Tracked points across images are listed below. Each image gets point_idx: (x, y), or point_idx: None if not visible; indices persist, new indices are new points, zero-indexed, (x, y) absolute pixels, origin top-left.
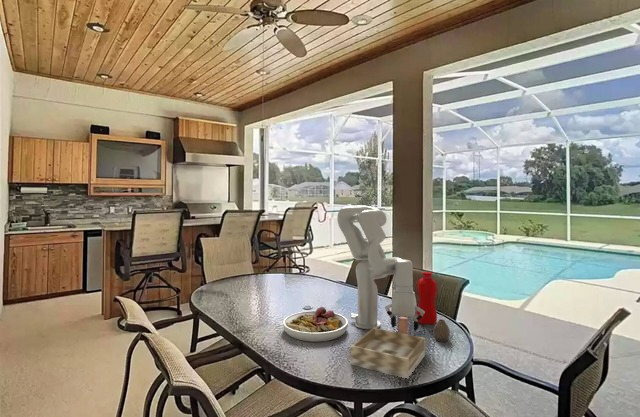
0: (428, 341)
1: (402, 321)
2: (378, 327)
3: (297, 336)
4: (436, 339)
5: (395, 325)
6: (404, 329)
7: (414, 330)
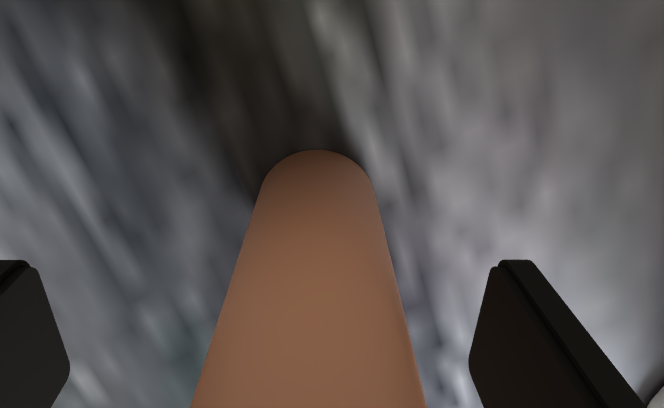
0: (71, 322)
1: (277, 395)
2: (656, 398)
3: None
4: None
5: (472, 353)
6: (256, 265)
7: (12, 261)
